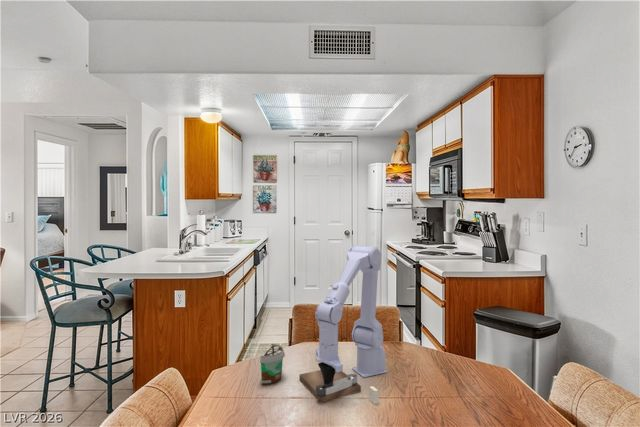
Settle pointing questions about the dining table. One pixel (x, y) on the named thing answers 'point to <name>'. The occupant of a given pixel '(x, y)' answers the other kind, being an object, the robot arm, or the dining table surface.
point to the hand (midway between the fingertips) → (328, 386)
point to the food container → (272, 365)
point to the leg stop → (373, 395)
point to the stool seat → (316, 379)
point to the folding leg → (336, 385)
